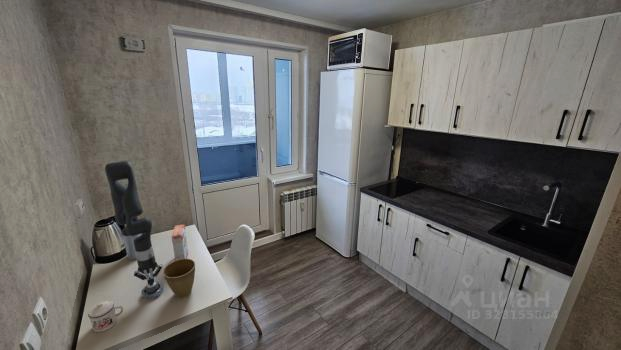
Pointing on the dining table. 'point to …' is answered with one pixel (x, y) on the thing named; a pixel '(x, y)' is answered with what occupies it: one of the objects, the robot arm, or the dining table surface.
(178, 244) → the cracker box
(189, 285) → the plant pot
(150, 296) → the faceted grey ring
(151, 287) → the cap
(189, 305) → the dining table surface
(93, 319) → the teacup with lid
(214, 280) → the dining table surface
